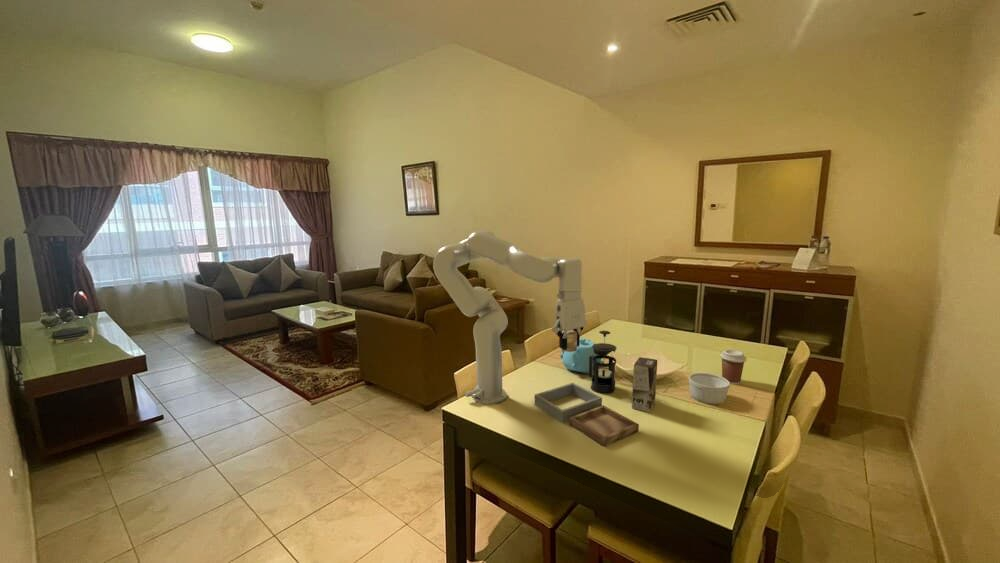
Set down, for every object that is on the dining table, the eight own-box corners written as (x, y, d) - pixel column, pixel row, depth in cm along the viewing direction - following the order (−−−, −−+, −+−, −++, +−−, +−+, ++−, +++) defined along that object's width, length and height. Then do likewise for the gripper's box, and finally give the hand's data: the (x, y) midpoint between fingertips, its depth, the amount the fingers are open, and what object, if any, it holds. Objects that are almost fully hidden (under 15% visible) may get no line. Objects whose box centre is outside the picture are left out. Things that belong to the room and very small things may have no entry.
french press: (622, 389, 155) (624, 332, 151) (607, 397, 150) (608, 337, 146) (597, 380, 165) (598, 325, 160) (582, 386, 159) (583, 330, 155)
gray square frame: (562, 423, 132) (562, 411, 131) (534, 405, 145) (534, 394, 144) (601, 408, 141) (602, 397, 141) (572, 392, 154) (572, 382, 153)
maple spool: (568, 352, 135) (568, 335, 134) (559, 348, 140) (559, 331, 139) (579, 349, 138) (580, 332, 137) (569, 345, 142) (570, 329, 141)
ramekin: (726, 393, 151) (728, 375, 150) (729, 409, 139) (731, 390, 138) (687, 387, 157) (689, 370, 155) (687, 402, 145) (688, 383, 144)
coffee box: (650, 412, 138) (652, 368, 135) (631, 408, 141) (632, 364, 138) (655, 402, 145) (658, 359, 142) (637, 397, 149) (639, 356, 146)
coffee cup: (719, 383, 159) (722, 354, 157) (717, 375, 167) (719, 347, 165) (746, 387, 156) (749, 357, 153) (742, 378, 164) (744, 349, 162)
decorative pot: (593, 360, 185) (594, 332, 183) (606, 374, 170) (607, 343, 167) (558, 362, 184) (559, 334, 182) (568, 377, 168) (568, 345, 166)
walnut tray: (604, 447, 119) (604, 439, 118) (569, 424, 131) (569, 417, 131) (638, 431, 126) (638, 424, 126) (602, 411, 139) (603, 405, 138)
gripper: (557, 300, 128) (557, 355, 131) (596, 293, 137) (595, 345, 140) (542, 296, 134) (542, 348, 137) (580, 290, 143) (580, 339, 146)
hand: (569, 346), depth 139 cm, fingers closed on maple spool, 4 cm apart
